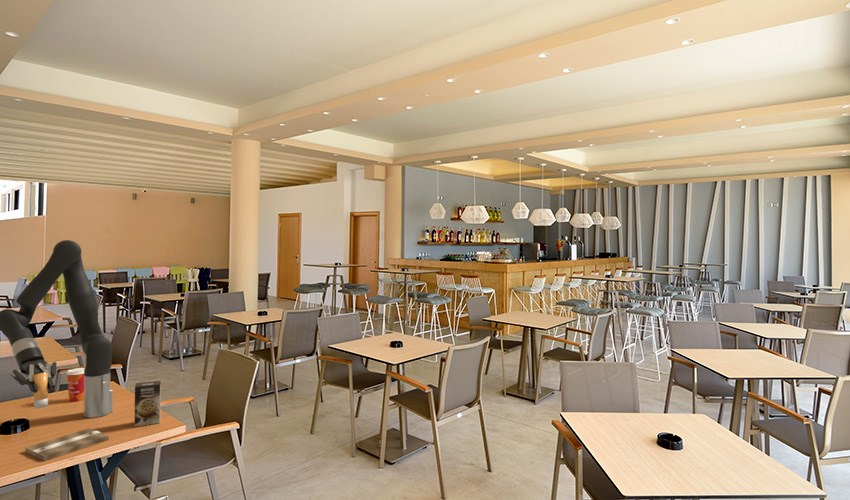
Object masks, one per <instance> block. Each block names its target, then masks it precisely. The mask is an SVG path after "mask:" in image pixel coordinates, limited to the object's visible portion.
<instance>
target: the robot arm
mask: <svg viewBox="0 0 850 500" xmlns="http://www.w3.org/2000/svg"><path fill="white" fill-rule="evenodd" d="M61 275H63V280H64V281H63V282H64V289H65V294H66V298H67V302H68V306H69V307H70V310H71V313H72V317H73V318H74V321H75V323H76V325H77V328H78V332H79V335H80V343H81V347H82V348H81V349H82V351H83V354H85V369H84V399H83V400H84V402H83V406H84V407H83V416H84V417H85V418H98V417H99V418H100V417H103V416H106V415H108V414H110V413H113V411H114V409H113V407H114V405H113V404H114V403H113V402H114V401H113V398H114V397H113V396H114V395H113V394H114V393H113V391H114V390H113V389H111V367H112V364H113V345H112V342H111V340H109V338H107V337H105V335H104V333H103V332H102V329H101V327H100V326H101V325H100V323H99V309H98V308H99V306H98V301H97V298H96V295H95V291H94V289H93V287H92V284H91V282H90V279H89V278H88V276H87V274H86V271H85V268H84V264H83V259H82V247H81V246H80V244H78V243H77V242H76V241H74V240H69V239H64V240H60V241H58V242H57V243H55V245H54V248H53V249H52V254H51V255H50V257H49V258H48V261H47V262H46V264H45V265H44V267H42V269H41V270H40V272H39V273H37V275H35V277H33V279H32V280H31V281H30V282H29V283H28V284H27V285H26V286H25V287H24V289H23V290H22V291H21V293H20V294H19V295H18V296H17V298H16V300H15V301H16V304H18V305H19V306H20V308H19V310H14V309H11V308H5V309H2V310H0V332H2V334H3V335H4V336H5V337H6V338H7V339H8V342H9V344H10V347H11V349H12V353H13V356H14V359H15V361H16V364H17V365H18V369H13V370H12V372H11V374H10V376H11V377H12V378H13V379H14V380H15V381H16V382H17V383H18V384H19V385H21V386H24V385H27V386H28V388H29V390H30V392H32V393H33V394H34V393H36V392H37V390H38V388H37V386H36V384H35V382H34V377H33V375H34V374H37V373H47V374H48V390H52V388H53V387H54V384H55V383H54V381H53V379H54V378H55V377H56V375H57V362H56V361H52V363H51V362H49V363H48V361H46V360H45V357H44V356H43V352H42V351H41V349H40V346H39V344H38V343H37V341H36V339H35V337H34V336H33V333H32V331H31V330H30V329H29V327H28V326H29V324H30V323H31V322H32V319H33V317H34V314H35V313H36V309H37V307H38V305H40V303H41V302H42V300H43V299H44V298H45V297H46V296H47V294H48V293H49V291H50V290H51V289H52V287H53V285H54V284H55V283H56V282H57V280H58V279H59V277H61ZM27 327H28V328H27ZM48 369H49V370H50V373H49V370H48ZM22 374H23V375H22ZM24 375H25V376H26V377H25V376H24Z"/></svg>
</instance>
